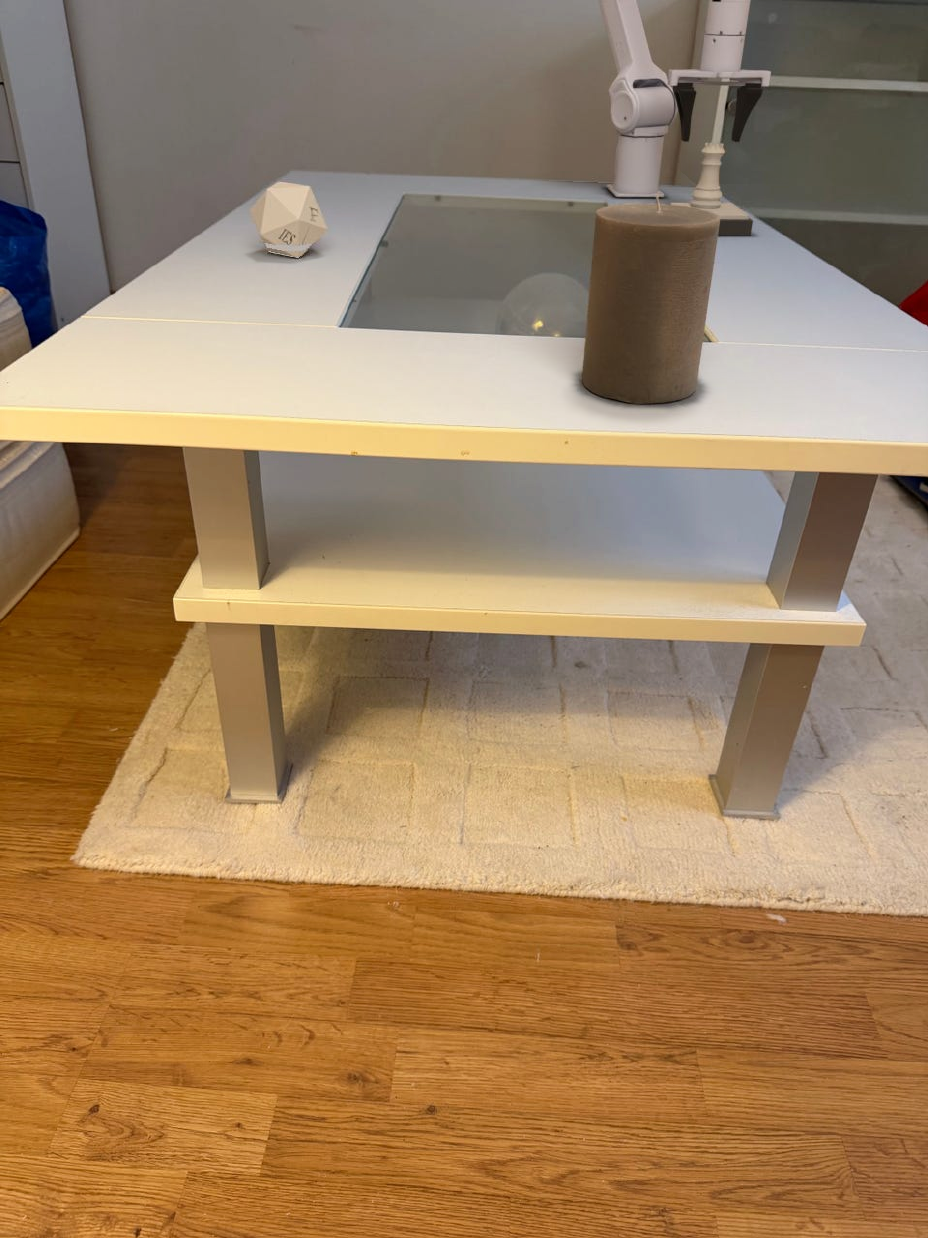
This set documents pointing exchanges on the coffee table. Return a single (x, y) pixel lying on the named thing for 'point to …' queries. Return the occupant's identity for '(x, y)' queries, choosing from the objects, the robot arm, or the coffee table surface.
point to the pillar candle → (648, 300)
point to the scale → (729, 219)
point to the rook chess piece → (709, 178)
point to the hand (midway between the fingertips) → (710, 140)
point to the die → (288, 217)
